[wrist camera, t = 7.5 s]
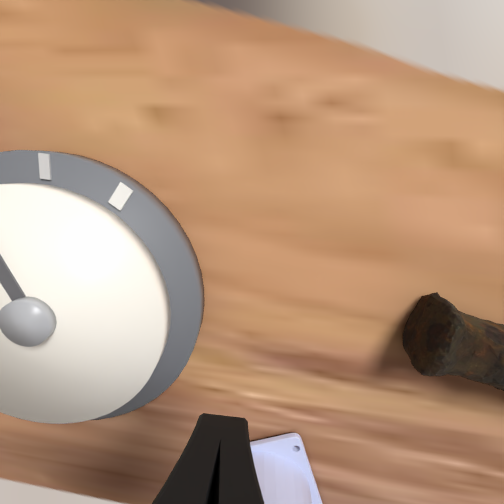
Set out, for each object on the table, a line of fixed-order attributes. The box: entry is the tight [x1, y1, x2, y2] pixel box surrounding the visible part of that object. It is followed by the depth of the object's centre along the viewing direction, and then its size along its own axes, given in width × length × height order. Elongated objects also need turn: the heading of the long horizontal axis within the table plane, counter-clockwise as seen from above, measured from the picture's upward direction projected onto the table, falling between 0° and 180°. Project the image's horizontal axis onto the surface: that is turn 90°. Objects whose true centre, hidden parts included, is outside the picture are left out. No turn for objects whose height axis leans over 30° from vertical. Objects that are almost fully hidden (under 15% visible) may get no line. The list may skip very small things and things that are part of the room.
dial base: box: [0, 150, 204, 420], centre depth 17 cm, size 16×16×2 cm
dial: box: [0, 183, 171, 424], centre depth 14 cm, size 13×13×4 cm
